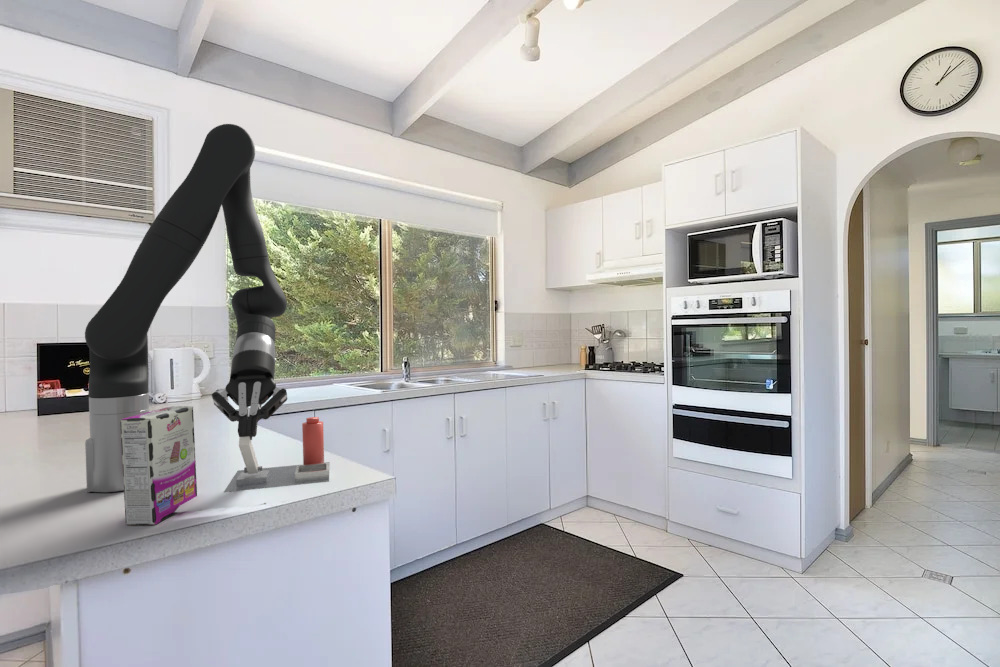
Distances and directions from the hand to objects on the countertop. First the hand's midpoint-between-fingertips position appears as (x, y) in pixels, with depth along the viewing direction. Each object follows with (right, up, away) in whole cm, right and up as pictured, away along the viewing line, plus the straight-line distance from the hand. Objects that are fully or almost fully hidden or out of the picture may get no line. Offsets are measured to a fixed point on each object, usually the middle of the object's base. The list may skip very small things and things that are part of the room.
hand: (246, 437), depth 91 cm
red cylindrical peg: (+6, -9, +17) cm, 20 cm away
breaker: (-3, -8, +8) cm, 12 cm away
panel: (+1, -10, +11) cm, 15 cm away
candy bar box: (-11, -11, -6) cm, 17 cm away
